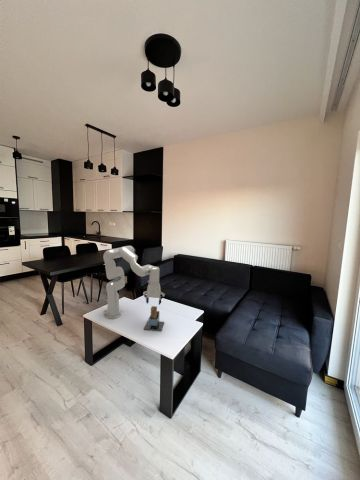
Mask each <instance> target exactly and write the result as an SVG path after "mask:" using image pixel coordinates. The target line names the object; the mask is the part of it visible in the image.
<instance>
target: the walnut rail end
mask: <svg viewBox="0 0 360 480" xmlns="http://www.w3.org/2000/svg"><path fill="white" fill-rule="evenodd" d="M157 311H158V306H154V305H152V306H151V308H150V315H151V319H157Z"/></svg>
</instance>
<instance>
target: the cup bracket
mask: <svg viewBox="0 0 360 480" xmlns="http://www.w3.org/2000/svg"><path fill="white" fill-rule="evenodd" d="M160 314H161V313H160V310H157V319H151V314H150V315H149V317H148V318H147V319H148V320H147V321H146V323H145V326H144V327H143V330H144V331H153V332H155V331H156V332H162V330H163V328H164V325H165V321H160Z"/></svg>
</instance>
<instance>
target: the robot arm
mask: <svg viewBox="0 0 360 480" xmlns="http://www.w3.org/2000/svg"><path fill="white" fill-rule="evenodd" d="M102 256H103V262H104V265H105V266H104V267H105V273H106V278H107V279H108V280H110V281H109V282H107V283H106V287H105V288H106V293H107V309H103V314H105V318H107V319H109V320H111V319H113V320H114V319H117V318H120V316H121V314H122V312H121V311H120V295H119V293H118V291H119V290H121V289H123V288H124V287H125V285H126V278H125V272H124V269H123V268H122V266H116V262H115V259H118V258H122V259H123V260H125V261H126V262H127V263H129V265H130V269H131V270H132V272H134V273H135V274H136V275H137V276H139V277H146V276H148V275H149V279H148V280H147V283H148V285H147V289H146V291H143V293H142V294H143V296H144V298H145V303H146V305H148V303H150V302H149V298H152V299H153V298H154V299H158V305H161V304H162V299H164V297H165V295H166V293H164V292H162V291H161V284H160V267H159V266H154V265H151V264H146V265H140V264H138V263H137V261H138V258H139V256H138V255H137V254H136V253H135V248H134V247H133V246H132V245H125V246H121V247H117V248H109V249H107V250H106V251H104V253H103V255H102Z"/></svg>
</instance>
